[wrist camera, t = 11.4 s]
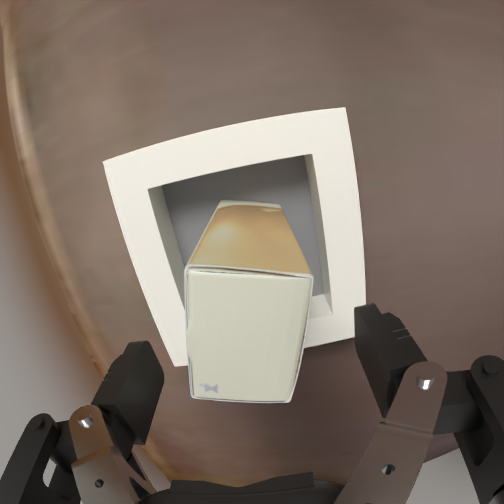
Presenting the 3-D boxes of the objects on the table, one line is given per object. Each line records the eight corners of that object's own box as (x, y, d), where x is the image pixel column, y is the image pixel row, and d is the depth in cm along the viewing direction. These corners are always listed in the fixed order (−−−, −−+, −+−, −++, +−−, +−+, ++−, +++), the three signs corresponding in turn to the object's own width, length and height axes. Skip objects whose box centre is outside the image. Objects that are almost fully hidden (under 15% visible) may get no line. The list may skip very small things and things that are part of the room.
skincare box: (273, 283, 23) (291, 409, 12) (215, 279, 23) (189, 404, 12) (282, 198, 21) (320, 275, 9) (218, 194, 21) (181, 266, 9)
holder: (330, 111, 19) (345, 107, 16) (353, 310, 25) (366, 334, 21) (123, 157, 20) (102, 161, 17) (182, 340, 26) (174, 366, 22)
